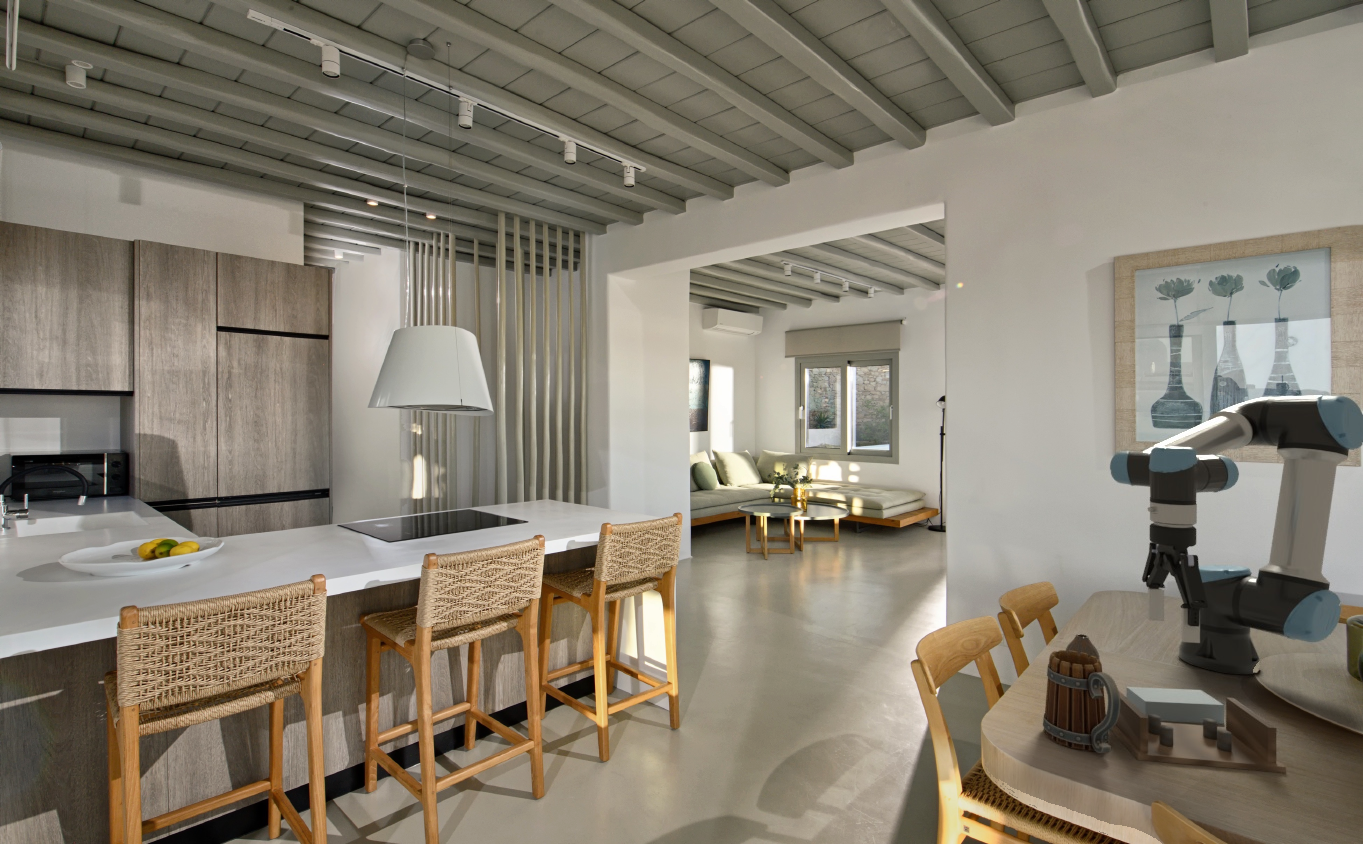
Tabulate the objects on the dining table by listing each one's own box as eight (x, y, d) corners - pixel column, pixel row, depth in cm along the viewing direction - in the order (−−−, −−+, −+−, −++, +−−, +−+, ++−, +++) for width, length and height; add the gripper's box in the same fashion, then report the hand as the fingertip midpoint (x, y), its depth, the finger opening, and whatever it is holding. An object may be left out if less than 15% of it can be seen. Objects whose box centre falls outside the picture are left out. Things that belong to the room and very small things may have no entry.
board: (1200, 709, 135) (1200, 690, 135) (1223, 725, 128) (1224, 705, 128) (1126, 706, 137) (1126, 686, 137) (1145, 721, 130) (1145, 701, 130)
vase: (1105, 680, 150) (1105, 641, 149) (1071, 678, 151) (1071, 640, 151) (1092, 668, 156) (1092, 631, 156) (1060, 666, 158) (1060, 630, 157)
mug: (1030, 726, 128) (1030, 648, 128) (1082, 723, 129) (1082, 646, 129) (1086, 769, 113) (1086, 681, 112) (1145, 766, 114) (1145, 678, 113)
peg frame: (1235, 733, 125) (1235, 696, 125) (1285, 773, 111) (1286, 731, 111) (1104, 722, 129) (1104, 687, 129) (1137, 759, 116) (1137, 719, 115)
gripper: (1124, 514, 146) (1124, 611, 146) (1184, 534, 121) (1183, 650, 121) (1163, 515, 144) (1162, 613, 144) (1231, 536, 120) (1231, 653, 120)
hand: (1172, 630), depth 133 cm, fingers open, 13 cm apart
